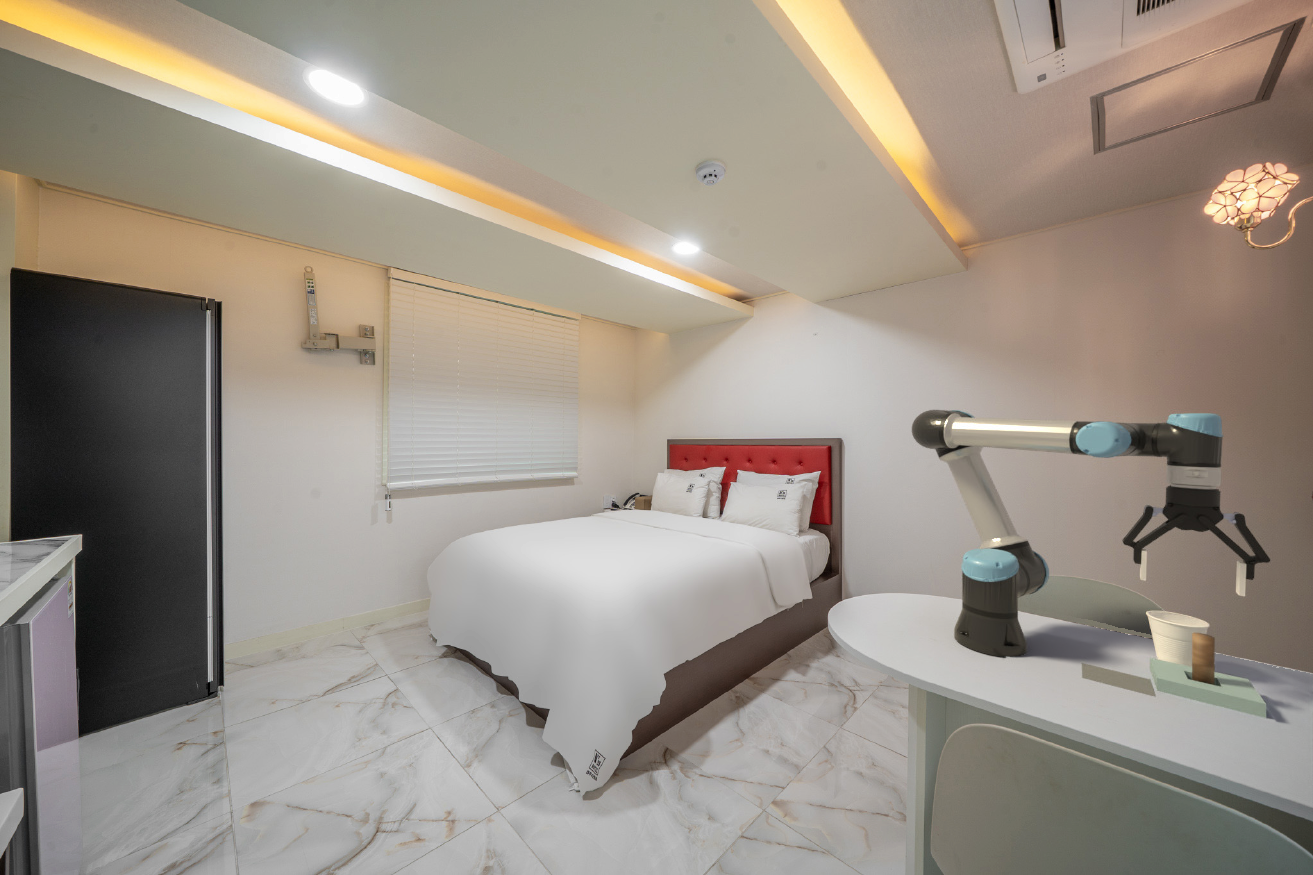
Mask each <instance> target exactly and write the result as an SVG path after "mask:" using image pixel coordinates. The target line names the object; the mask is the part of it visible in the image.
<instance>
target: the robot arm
mask: <svg viewBox="0 0 1313 875" xmlns="http://www.w3.org/2000/svg"><path fill="white" fill-rule="evenodd" d="M1222 421H1223V420H1222V417H1221V416H1220V415H1218V414H1217V413H1209V412H1208V413H1207V412H1204V413H1203V412H1200V413H1199V412H1197V413H1196V412H1195V413H1194V412H1189V413H1172V414H1169V416H1168V417H1167V419H1166V422H1157V423H1156V422H1155V423H1154V422H1153V423H1152V422H1149V423H1148V422H1145V423H1144V422H1113V421H1104V420H1103V421H1086V420H1085V421H1081V420H1080V421H1079V420H1077V421H1076V420H1055V419H1054V420H1053V419H1051V420H1050V419H1025V418H1024V419H1022V418H1021V419H1020V418H993V417H992V418H991V417H975V416H974V415H972V414H971V413H969V412H965V411H962V410H960V409H959V410H958V409H957V410H956V409H951V410H947V409H946V410H945V409H929V410H925V411H923V412H922V413H920V414H918V415H917V416H916V417H915V419H914V420H913V422H912V425H911V434H912V437H913V440H914V441H915V442H916V443H917V444H918V445H920V446H921V447H922V448H926V449H930V450H931V449H932V450H935V452H936V455H937V457H938V459H939V460H940V461H942V462H944V463H946V464H947V465H948V467H949V470H950V472H951V474H952V477H953V478H954V481H955V483H956V486H957V488H958V490H959V492H960V495H961V497H962V499H963V502H964V503H965V506H966V508H967V510H968V513H969V515H970V517H971V519H972V520H971V521H972V523H973V524H974V527H975V529H976V531H977V533H978V536H979V538H980V540H981V544H980V546H979V548H974V549H970V550H967V551H966V552H965V553H964V554H963V556H962V563H961V576H962V577H961V579H962V580H961V584H962V586H961V591H962V592H961V595H962V596H961V597H962V598H961V599H962V600H961V602H962V603H961V604H962V605H961V606H962V607H961V610H960V614H959V616H958V619H957V621H956V623H955V626H954V631H953V632H954V633H953V635H954V639H955V641H956V640H957V641H956V642H958V643H959V644H960V645H962V646H963V647H966V648H968V649H970V650H972V651H975V652H978V653H981V654H986V655H989V656H996V657H1002V658H1007V657H1009V658H1012V657H1013V658H1015V657H1022V656H1024V655H1026V654H1027V652H1028V643H1027V640H1026V637H1025V635H1024V632H1023V628H1022V627H1021V624H1020V622H1019V598H1021V597H1025V596H1027V595H1031V594H1032V595H1033V594H1034V593H1037V592H1038V591H1040V590H1042V589H1043V588H1044V587H1045V586H1046V585H1047V583H1048V582H1049V581H1048V580H1049V577H1050V568H1049V565H1048V563H1047V562H1046V560H1045V558H1044V557H1043V556H1042V555H1041V554H1040V553H1038V552H1036V551H1034V550H1033V548H1032V546H1031V544H1030V542H1029V540H1028V539H1027V538H1025V537H1023V536H1021V535H1020V534H1018V532H1017V530H1016V528H1015V525H1014V523H1013V521H1012V519H1011V517H1010V515H1009V512H1008V511H1007V508H1006V506H1005V504H1004V502H1003V500H1002V498H1001V495H1000V494H999V491H998V488H997V487H996V485H995V482H994V481H993V478H992V476H991V474H990V472H989V470H988V468H987V466H986V464H985V462H984V459H983V457H982V455H981V452H982V450H983V449H984V448H994V449H1004V450H1005V449H1006V450H1019V451H1032V452H1041V453H1042V452H1044V453H1045V452H1047V453H1055V454H1057V453H1058V454H1068V455H1069V454H1070V455H1080V456H1091V457H1093V458H1101V459H1102V458H1104V459H1106V458H1108V459H1109V458H1114V457H1151V458H1152V457H1154V458H1155V457H1156V458H1166V477H1165V479H1166V480H1165V483H1167V484H1169V485H1167V486H1166V487H1165V503H1164V504H1165V505H1164V506H1163V507H1156V506H1152V505H1150V504H1149V505H1148V504H1146V505H1145V506H1144V507H1143V514H1142V515H1141V516H1140V518H1139V519H1138V520H1137V521H1136V523H1135V524H1134V525H1133V526H1132V527H1131V529H1129V531H1128V532H1127V534H1126V535H1125V536H1124V537H1123V538H1122V540H1121V541H1122V543H1123V545H1124V546H1128V547H1131V548H1132V549H1133V555H1132V556H1133V557H1132V558H1133V560H1132V561H1133V562H1134V564H1137V565H1139V579H1140V581H1144V582H1146V581H1147V566H1148V565H1147V561H1148V560H1147V559H1148V551H1147V549H1145V547H1147V546H1148V545H1150V544H1151V543H1153V542H1155V541H1156V540H1157V539H1159V538H1160V537H1162V536H1164V535H1165V534H1166V533H1168V532H1170V531H1172V530H1173V529H1174V528H1177V529H1179V530H1181V531H1194V532H1198V533H1201V532H1202V533H1205V532H1208V531H1209V532H1211V533H1212V534H1214V535H1215V536H1216V537H1217V538H1218V539H1219V540H1220V541H1222V543H1223V544H1225V545H1226V546H1227V547H1228V548H1229V549H1231V550H1232V552H1234V553H1235V554H1236V555H1237V556H1238V557H1240V558H1241V559H1242V560H1236V575H1235V576H1236V578H1235V593H1236V594H1237V595H1238V596H1240V597H1246V587H1247V586H1246V583H1247V582H1246V581H1247V580H1250V581H1253V580H1254V579H1255V566H1256V565H1257V564H1260V563H1261V564H1262V563H1263V564H1264V563H1265V564H1268V563H1270V562H1271V558H1270V557H1269V555H1268V554H1267V552H1266V551H1265V550H1264V549H1263V547H1262V546H1261V544H1260V543H1259V541H1258V540H1257V539H1256V537H1255V536H1254V534H1253V533H1252V531H1251V530H1250V529H1249V527H1248V526H1247V524H1246V516H1245V514H1243V513H1240V512H1236V511H1235V512H1233V513H1227V512H1226V513H1225V512H1224V513H1223V512H1222V510H1221V490H1220V489H1218V487H1220V486H1221V485H1222V484H1221V481H1222V480H1221V479H1222V475H1221V474H1222V473H1221V472H1222V456H1223V454H1222V453H1223V439H1224V434H1223V426H1222ZM1159 514H1162V515H1163V516H1164V517H1165V518H1166V519H1167V520H1166V521H1164V522H1162V523H1161V524H1160V525H1159V526H1157V527H1156V528H1155V529H1153V530H1152V531H1150V532H1148V533H1147V534H1146V535H1144V536H1142V537H1141V538H1140V539H1139V540H1137V541H1135V540H1136V538H1137V537H1138V536H1139V534H1140V533H1141V532H1142V530H1144V528H1145V527H1146V526H1147V525H1148V523H1149V522H1150V521H1151V520H1152V518H1153V517H1158V515H1159ZM1223 520H1227V522H1228V523H1230V524H1232V525H1234V527H1235V529H1236V530H1237V531H1238V533H1239V534H1240V535H1241V537H1242V538H1243V540H1244V541H1245V543H1246V544H1247V545H1248V547H1249V549H1251V551H1252V552H1253V554H1254V555H1250V554H1249V553H1248V552H1246V551H1245V550H1244V549H1243V548H1242V547H1241V546H1240V545H1239V544H1237V543H1236V542H1235V541H1233V539H1232V538H1230V537H1229V536H1228V535H1227V534H1226V533H1225V532H1224V531H1222V530H1221V528H1219V527H1218V526H1217V525H1218V524H1219V523H1221V521H1223Z"/></svg>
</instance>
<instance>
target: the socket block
mask: <svg viewBox="0 0 1313 875" xmlns="http://www.w3.org/2000/svg"><path fill="white" fill-rule="evenodd" d="M1149 671H1150V673H1151V677H1152V680H1153V682H1154V686H1155V690H1156V691H1158V692H1161V693H1163V694H1169V695H1172V696H1177V697H1181V698H1185V699H1188V700H1193V701H1196V702H1200V703H1205V704H1209V705H1212V706H1215V707H1220V708H1224V709H1229V710H1232V711H1236V712H1240V713H1244V714H1249V715H1253V716H1257V717H1260V718H1264V719H1267V703H1266V702H1265V701H1264V699H1263V698H1262V696H1261V695H1260V694H1259V692H1258V691H1257V689H1256V688H1255V687H1254V685H1253V684H1252V683H1251V681H1250V680H1249V679H1248V678H1244V677H1240V676H1235V675H1229V674H1227V673H1222V672H1217V671H1215V679H1214V685H1211V684H1207V683H1203V682H1198V681H1194V680H1192V667H1190V666H1186V665H1181V664H1176V663H1172V662H1167V661H1163V660H1158V659H1157V658H1154V657H1149Z"/></svg>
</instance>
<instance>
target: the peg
mask: <svg viewBox="0 0 1313 875" xmlns="http://www.w3.org/2000/svg"><path fill="white" fill-rule="evenodd" d="M1215 640H1216V639H1215V637H1214V636H1213V635H1210V634H1207V633H1206V634H1202V633H1192V680H1194V681H1198V682H1203V683H1207V684H1211V685H1214V679H1215V672H1216V671H1215V667H1216V666H1215V665H1216V664H1215V662H1216V661H1215V656H1216V655H1215V652H1216V651H1215V647H1216V646H1215V644H1216V643H1215Z"/></svg>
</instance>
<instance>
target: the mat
mask: <svg viewBox="0 0 1313 875" xmlns="http://www.w3.org/2000/svg"><path fill="white" fill-rule="evenodd" d="M1081 678H1082V679H1085V680H1089V681H1094V682H1096V683H1100V684H1101V683H1102V684H1104V685H1109V686H1113V687H1117V688H1120V689H1125V690H1128V691H1131V692H1134V693H1140V694H1142V695H1143V694H1144V695H1146V696H1147V695H1148V696H1151V697H1154V698H1156V693H1155V691H1154V687H1153V683H1152V680H1151V679H1150V678H1146V677H1142V676H1137V675H1133V674H1130V673H1129V674H1128V673H1125V672H1122V671H1117V670H1113V669H1109V668H1105V667H1100V666H1096V665H1092V664H1087V663H1084V662H1081Z"/></svg>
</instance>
